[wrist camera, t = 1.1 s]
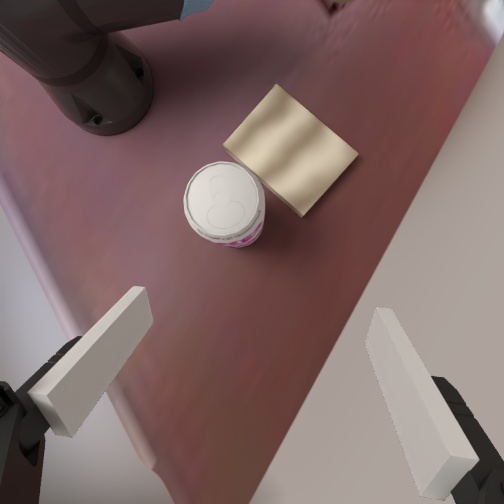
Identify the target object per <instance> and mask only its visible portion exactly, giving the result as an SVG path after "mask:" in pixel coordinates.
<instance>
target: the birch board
mask: <svg viewBox="0 0 504 504" xmlns="http://www.w3.org/2000/svg"><path fill="white" fill-rule="evenodd" d="M223 147H224V150H225V151H226V152H227V153H228V154H229V155H230V156H232V157H233V158H234V159H235V160H236V161H237V162H238V163H240V164H241V165H242V166H244V167H246V168H248V169H249V170H250V171H251V172H252V173H253V174H254V175H255V176H256V177H257V178H258V179H259V181H260V182H261V183H262V184H264V185H265V186H266V187H267V188H268V189H269V190H270V191H271V192H273V193H274V194H275V195H276V196H277V197H278V198H279V199H281V200H282V201H283V202H284V203H285V204H286V205H287V206H289V207H290V208H291V209H292V210H293V211H294V212H295V213H297V214H298V215H299V216H300V217H301V218H302V217H303V216H304V215H305V213H306V212H307V211H308V210H309V209H310V208H311V207H312V206H313V205H314V203H315V202H316V201H317V200H318V199H319V198H320V197H321V196H322V194H323V193H324V192H325V191H326V190H327V189H328V188H329V187H330V186H331V184H332V183H333V182H334V181H335V180H336V179H337V178H338V177H339V176H340V174H341V173H342V172H343V171H344V170H345V169H346V168H347V167H348V165H349V164H350V163H351V162H352V161H353V160H354V159H355V158H356V157H357V155H358V154H359V153H357V152H356V151H355V150H354V149H353V148H351V147H350V146H349V145H348V144H347V143H346V142H344V141H343V140H342V139H341V138H340V137H339V136H337V135H336V134H335V133H334V132H333V131H331V130H330V129H329V128H328V127H327V126H326V125H324V124H323V123H322V122H321V121H320V120H319V119H317V118H316V117H315V116H314V115H313V114H311V113H310V112H309V111H308V110H307V109H306V108H304V107H303V106H302V105H301V104H300V103H299V102H297V101H296V100H295V99H294V98H293V97H291V96H290V95H289V94H288V93H287V92H286V91H284V90H283V89H282V88H281V87H280V86H279V85H277V84H276V85H275V86H274V87H273V88H272V89H271V91H270V92H269V93H268V94H267V95H266V96H265V97H264V99H263V100H262V101H261V102H260V103H259V104H258V105H257V106H256V108H255V109H254V110H253V111H252V112H251V113H250V114H249V115H248V117H247V118H246V119H245V120H244V121H243V122H242V123H241V125H240V126H239V127H238V128H237V129H236V130H235V131H234V132H233V134H232V135H231V136H230V137H229V138H228V139H227V140H226V142H225V143H224V144H223Z"/></svg>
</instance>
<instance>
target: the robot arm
mask: <svg viewBox="0 0 504 504" xmlns="http://www.w3.org/2000/svg"><path fill="white" fill-rule="evenodd" d="M213 1H214V0H0V51H1V52H2V53H4V54H5V55H6V56H7V57H9V58H10V59H11V60H13V61H14V62H15V63H17V64H18V65H19V66H21V67H22V68H23V69H24V70H26V71H27V72H28V73H30V74H31V75H32V76H33V77H35V78H36V79H37V80H38V81H39V82H40V84H41V85H42V86H43V88H44V89H45V90H46V92H47V93H48V94H49V96H50V97H51V98H52V100H53V101H54V102H55V104H56V105H57V107H58V108H59V109H60V111H61V112H62V113H63V114H64V115H65V116H66V117H67V118H68V119H70V120H71V121H72V122H74V123H75V124H77V125H78V126H79V127H81V128H82V129H84V130H86V131H88V132H90V133H93V134H98V135H113V134H118V133H121V132H124V131H126V130H128V129H130V128H131V127H133V126H134V125H135V124H136V123H138V122H139V121H140V120H141V118H142V117H143V116H144V115H145V113H146V111H147V110H148V108H149V106H150V103H151V100H152V96H153V78H152V74H151V71H150V68H149V66H148V64H147V63H146V61H145V59H144V58H143V56H142V54H141V53H140V51H139V50H138V49H137V47H136V46H135V45H134V44H133V43H132V42H131V41H130V40H129V39H128V38H126V37H125V36H124V35H123V34H122V33H121V32H120V31H121V30H126V29H131V28H136V27H141V26H146V25H151V24H156V23H161V22H166V21H171V20H176V19H178V20H182V19H184V18H185V17H186V16H188V15H191V14H195V13H198V12H202V11H205V10H207V9H208V8H209V7H210V5H211V4H212V3H213ZM152 324H153V317H152V313H151V309H150V304H149V300H148V296H147V292H146V287H138V286H133V287H132V288H131V289H130V290H129V291H128V292H127V293H126V294H125V295H124V296H123V297H122V298H121V299H120V300H119V301H118V302H117V303H116V304H115V305H114V306H113V307H112V308H111V309H110V310H109V311H108V312H107V313H106V314H105V315H104V316H103V317H102V318H101V319H100V320H99V321H98V322H97V323H96V324H95V325H94V326H93V327H92V328H91V329H90V330H89V331H88V332H87V333H86V334H85V335H84V336H77V337H76V338H74V339H72V340H71V341H69V342H68V343H66V344H65V345H64V346H63V347H62V348H61V349H60V350H59V351H58V352H57V353H56V355H53V356H52V357H51V358H50V359H49V360H48V362H47V363H45V364H44V365H43V366H42V367H41V368H40V369H39V370H38V371H37V372H36V373H35V374H34V375H33V376H32V377H30V378H29V379H28V380H27V381H26V382H25V383H24V384H23V385H22V386H21V387H20V388H19V389H18V390H17V391H16V392H15V393H14V391H13V390H12V388H11V387H10V386H9V384H8V383H6V382H4V381H2V382H1V381H0V504H39V496H40V486H41V477H42V468H43V459H44V450H45V436H44V434H45V432H46V431H47V430H48V429H49V427H51V429H52V430H53V432H54V433H55V435H59V436H65V437H71V438H72V437H73V436H74V435H75V433H76V432H77V431H78V429H79V428H80V426H81V425H82V423H83V422H84V421H85V419H86V418H87V416H88V415H89V413H90V412H91V411H92V409H93V408H94V406H95V405H96V404H97V402H98V401H99V399H100V398H101V396H102V395H103V394H104V392H105V391H106V389H107V388H108V386H109V385H110V384H111V382H112V381H113V379H114V378H115V376H116V375H117V374H118V372H119V371H120V369H121V368H122V367H123V365H124V364H125V362H126V361H127V359H128V358H129V357H130V355H131V354H132V352H133V351H134V349H135V348H136V347H137V345H138V344H139V342H140V341H141V339H142V338H143V337H144V335H145V334H146V332H147V331H148V330H149V328H150V327H151V325H152ZM365 347H366V349H367V352H368V355H369V357H370V360H371V363H372V366H373V369H374V371H375V374H376V377H377V380H378V382H379V385H380V388H381V391H382V393H383V396H384V399H385V401H386V404H387V407H388V410H389V413H390V415H391V418H392V421H393V423H394V427H395V429H396V432H397V434H398V438H399V440H400V443H401V445H402V449H403V451H404V454H405V457H406V460H407V462H408V465H409V468H410V470H411V473H412V476H413V479H414V482H415V484H416V487H417V490H418V493H419V495H420V497H425V498H431V499H437V500H443V501H444V500H445V499H446V498H447V497H448V496H449V494H450V493H451V494H452V496H453V498H454V500H455V503H456V504H504V461H503V459H502V458H501V456H500V455H499V453H498V452H497V450H496V449H495V447H494V446H493V444H492V443H491V441H490V440H489V438H488V436H487V435H486V433H485V432H484V430H483V429H482V427H481V426H480V424H479V423H478V421H477V420H476V419H475V418H474V415H473V414H472V412H471V411H470V409H469V408H468V407H467V406H466V403H465V402H464V400H463V398H462V397H461V395H460V394H459V392H458V391H457V390H456V389H455V388H454V387H453V386H452V385H451V384H450V383H449V382H448V381H447V380H446V379H445V378H444V377H435V376H430V374H429V373H428V371H427V369H426V367H425V366H424V364H423V363H422V361H421V359H420V357H419V356H418V354H417V352H416V350H415V349H414V347H413V345H412V344H411V342H410V340H409V338H408V337H407V335H406V333H405V332H404V330H403V328H402V326H401V325H400V323H399V321H398V320H397V318H396V316H395V314H394V313H393V311H392V309H391V308H380V307H376V308H375V312H374V315H373V318H372V321H371V325H370V328H369V331H368V335H367V338H366V341H365Z"/></svg>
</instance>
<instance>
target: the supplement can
mask: <svg viewBox="0 0 504 504" xmlns="http://www.w3.org/2000/svg"><path fill="white" fill-rule="evenodd" d="M184 211H185V215H186V217H187V219H188V222H189V224H190V226H191V227H192V228H193V229H194V230H195V231H196V232H197V233H198V234H199V235H200V236H202V237H204V238H206V239H208V240H210V241H212V242H215V243H218V244H222V245H225V246H229V247H236V248H240V247H244V246H248V245H250V244H251V243H253V242H254V241H255V240H256V239H257V238H258V237H259V235H260V234H261V232H262V229H263V225H264V216H265V197H264V190H263V188H262V186H261V184H260V182H259V179H258V178H257V177H256V176H255V175H254V174H253V173H252V172H251V171H250V170H249V169H248V168H246V167H244V166H242V165H239V164H237V163H235V162H222V161H221V162H215V163H212V164H208V165H206V166H204V167H203V168H201V169H200V170H199V171H197V172H196V173H195V174H194V176H193V177H192V178H191V180H190V181H189V183H188V185H187V188H186V192H185V195H184Z"/></svg>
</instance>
